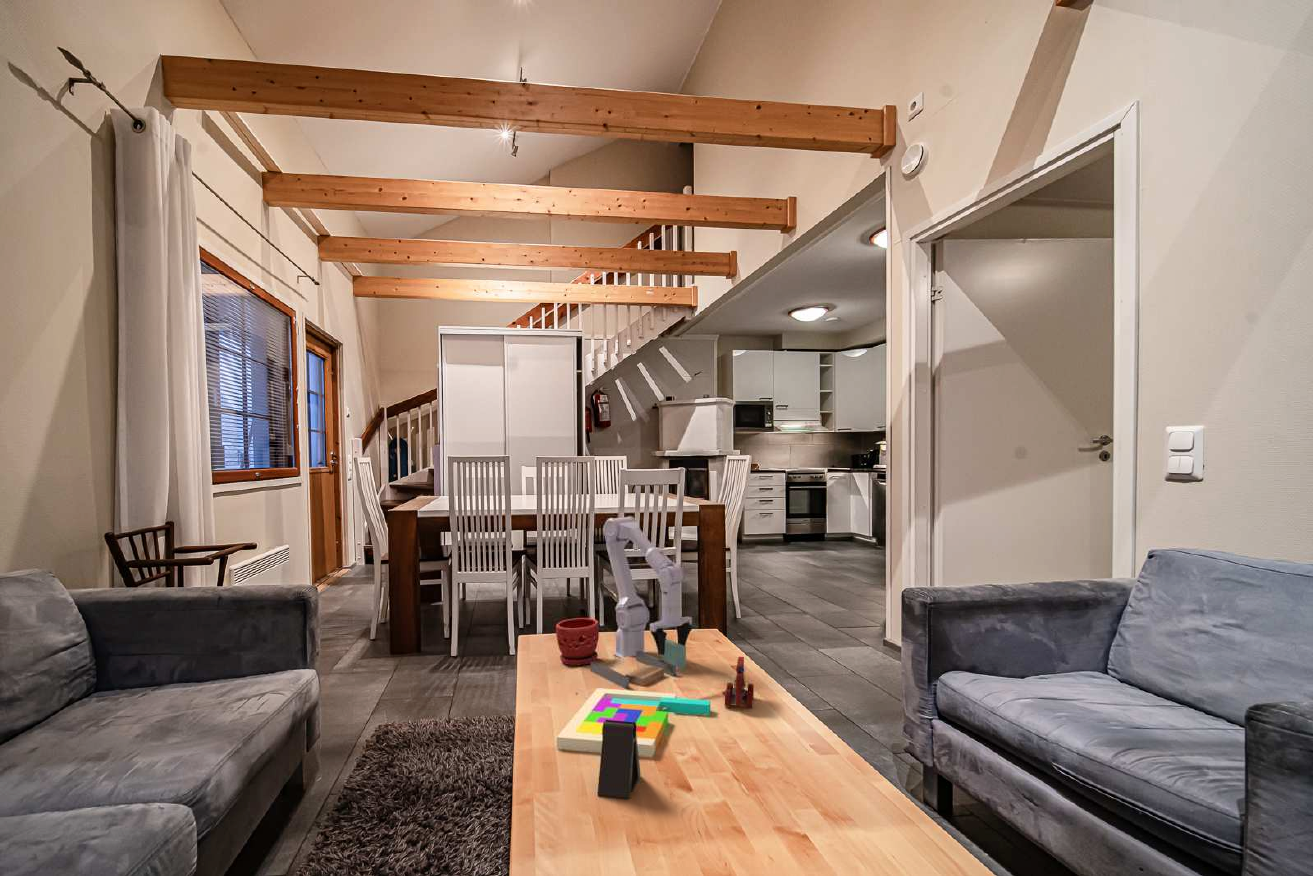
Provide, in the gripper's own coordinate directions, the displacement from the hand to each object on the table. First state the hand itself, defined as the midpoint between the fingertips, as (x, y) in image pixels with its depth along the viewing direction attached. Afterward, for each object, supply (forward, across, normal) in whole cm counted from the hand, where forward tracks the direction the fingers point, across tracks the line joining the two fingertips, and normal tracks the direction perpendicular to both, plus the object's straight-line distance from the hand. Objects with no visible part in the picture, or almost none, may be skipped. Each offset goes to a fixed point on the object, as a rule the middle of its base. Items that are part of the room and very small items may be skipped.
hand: (671, 651), depth 189 cm
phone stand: (+5, -50, -48) cm, 70 cm away
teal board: (+4, 0, -1) cm, 4 cm away
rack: (+5, -14, 0) cm, 15 cm away
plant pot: (+5, -19, +23) cm, 30 cm away
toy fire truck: (+5, -3, -32) cm, 33 cm away
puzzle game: (+6, -31, -28) cm, 42 cm away
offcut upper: (+3, -14, -6) cm, 16 cm away
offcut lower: (+6, -14, -6) cm, 16 cm away
